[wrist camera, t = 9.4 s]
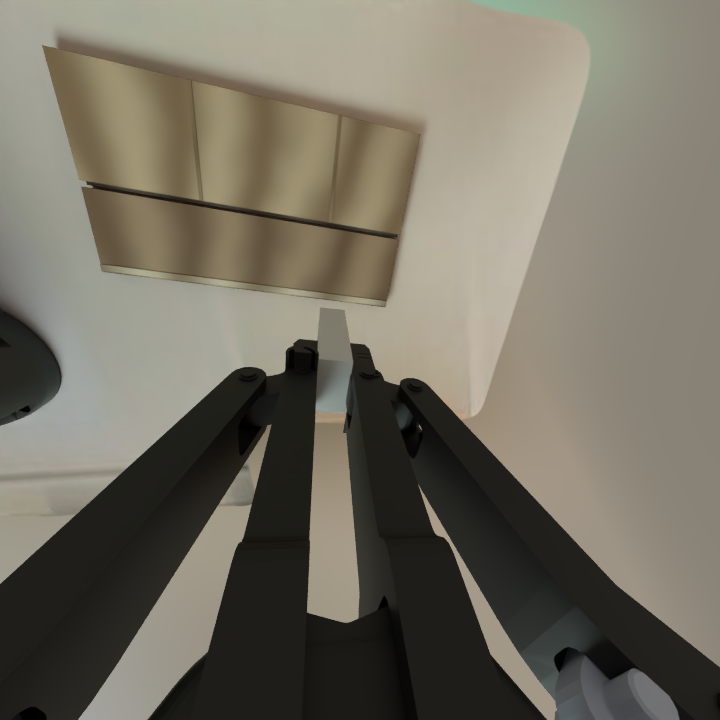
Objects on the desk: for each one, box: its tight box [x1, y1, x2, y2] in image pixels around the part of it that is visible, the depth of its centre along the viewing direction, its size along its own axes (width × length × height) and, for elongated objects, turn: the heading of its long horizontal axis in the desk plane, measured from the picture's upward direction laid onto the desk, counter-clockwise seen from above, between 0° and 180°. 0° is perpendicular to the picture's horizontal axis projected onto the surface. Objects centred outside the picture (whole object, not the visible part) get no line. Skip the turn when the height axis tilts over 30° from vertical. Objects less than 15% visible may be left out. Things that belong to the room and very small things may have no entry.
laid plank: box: [42, 45, 420, 237], centre depth 24 cm, size 28×8×1 cm, turn 81°
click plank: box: [81, 187, 398, 307], centre depth 27 cm, size 28×7×1 cm, turn 81°
